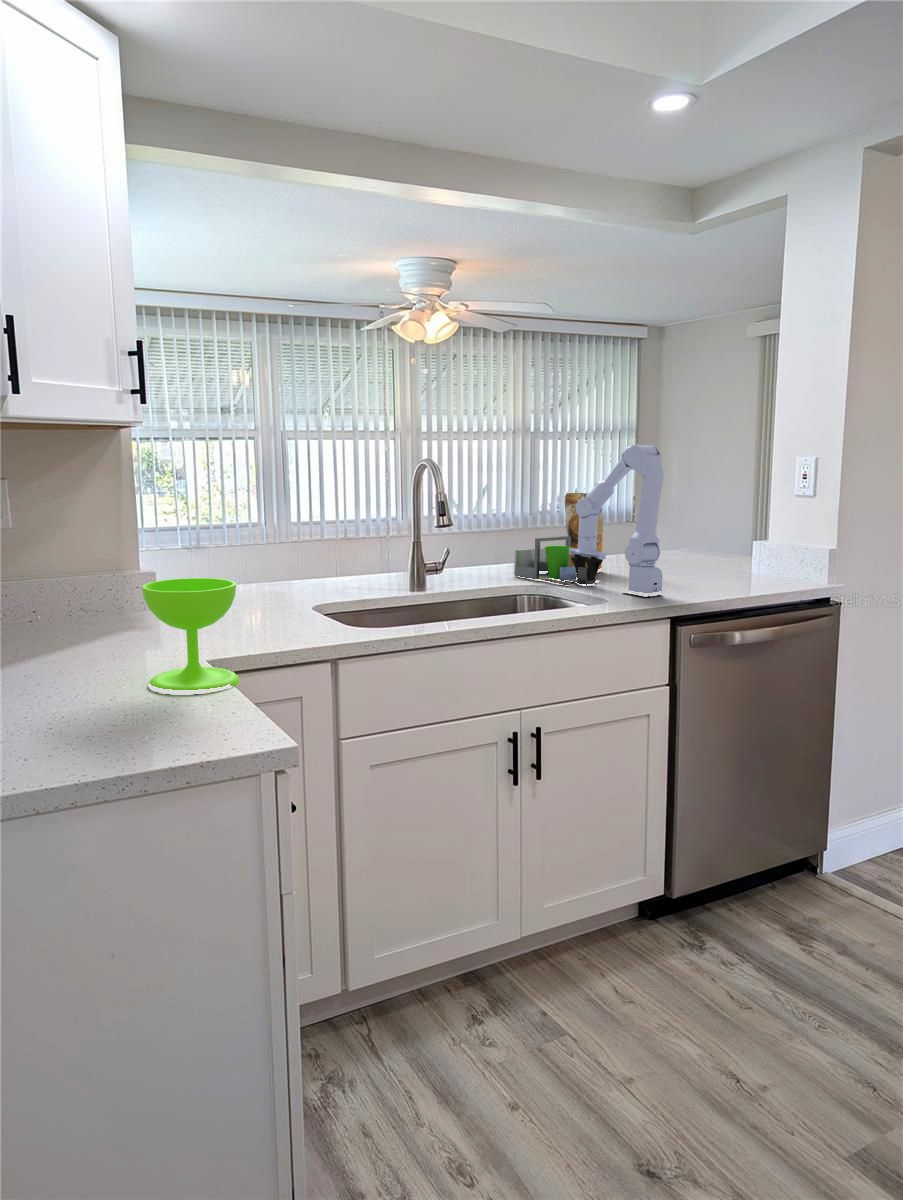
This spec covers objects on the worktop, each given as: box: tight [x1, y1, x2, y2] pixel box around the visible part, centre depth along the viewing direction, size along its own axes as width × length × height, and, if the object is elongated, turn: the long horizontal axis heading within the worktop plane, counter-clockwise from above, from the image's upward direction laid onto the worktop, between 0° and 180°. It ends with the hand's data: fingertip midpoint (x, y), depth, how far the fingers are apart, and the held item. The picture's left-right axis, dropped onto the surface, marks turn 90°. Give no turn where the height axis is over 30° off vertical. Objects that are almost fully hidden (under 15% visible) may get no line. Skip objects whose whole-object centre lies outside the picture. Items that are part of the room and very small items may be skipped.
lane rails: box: [537, 575, 599, 586], centre depth 273 cm, size 15×14×1 cm
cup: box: [543, 544, 572, 579], centre depth 277 cm, size 9×9×11 cm
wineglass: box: [141, 577, 241, 690], centre depth 150 cm, size 16×16×18 cm
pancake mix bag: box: [563, 492, 604, 569], centre depth 292 cm, size 7×19×28 cm, turn 124°
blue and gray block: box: [560, 566, 597, 585], centre depth 269 cm, size 11×6×6 cm, turn 35°
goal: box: [513, 535, 571, 579], centre depth 282 cm, size 11×15×14 cm
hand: (585, 579), depth 266 cm, fingers open, 4 cm apart
